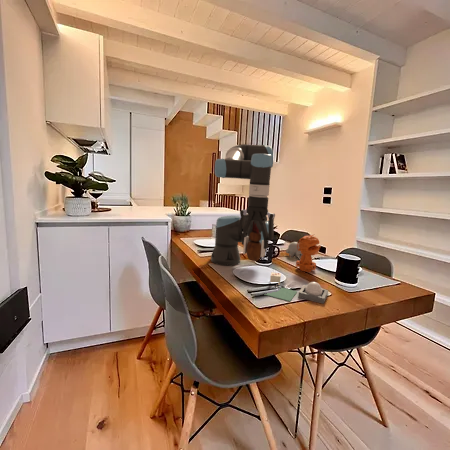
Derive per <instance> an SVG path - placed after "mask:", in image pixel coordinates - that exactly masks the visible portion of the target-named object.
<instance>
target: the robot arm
mask: <svg viewBox="0 0 450 450" xmlns="http://www.w3.org/2000/svg"><path fill="white" fill-rule="evenodd" d="M273 166H274V151H273V147H272V146H270V145H266V144H246V143H243V144H238V145H235V146H232V147H230V148H229V149H228V150H227V151H226V153H225V158H217V159H216V160H215V162H214V175H215V177H217V178H221V179H239V180H240V179H241V180H249V184H248V185H249V186H248V197H247V199H248V200H247V208H246V209H240V210H239V215H240V216H239V215H226V216H225V215H224V216H220V217H218V218H217V219H216V224H215V243H214V247H213V251H212V253H211V255H210V261H211V262H212V263H214V264H215V265H220V266H235V265H238V264H240V263H241V254H240V250H239V243H241V244H242V245H243V247H242V248H243V250H242V251H243V252H242V254H243V255H246V254H247V244H248V242H249V241H250V239H249V235H250V233H251V232H252V229H253V221H254V224H255V223H256V227H258V229H259V232H260V233H261V240H260V241H259V242H260V243H261V257H260V258H264V257H265V256H266V250H267V249H268V248H269V241H272V240H273V239H274V237H275V236H274V235H275V234H274V233H275V232H274V231H275V229H274V227H275V226H274V225H275V223H274V221H275V217H276V214H275V213H272V212H270V211H269V209H268V208H269V197H268V196H270V180H271V170H272V168H273Z"/></svg>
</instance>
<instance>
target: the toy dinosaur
mask: <svg viewBox="0 0 450 450" xmlns="http://www.w3.org/2000/svg"><path fill="white" fill-rule="evenodd" d="M297 242H298V243H299V244H298V243H297V249H298V245H299V249H298V251H301V254H303V255H302V256H301V258H300V259H299V260H296V262H295V265H296V267H295V268H299V270H300V271H302V272H307V273H310V272H312V271H313V270H314V271H316V269H317V263H316V262H315V261H313V258H312V256H315V255H316V254H317V253H319V251H320V249H321V247H322V246H321V245H319V244H320V241H319V238H318V237H316V236H314V234H310V235H304V236H303V237H301V238H299V240H298V241H297Z"/></svg>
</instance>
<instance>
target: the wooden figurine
mask: <svg viewBox="0 0 450 450" xmlns="http://www.w3.org/2000/svg"><path fill="white" fill-rule="evenodd" d="M249 239H250V241H249V242H248V244H247V253H246V257H247V259H248V260H250V261H253V262H257V261H259V260H260V259H261V258H262V257H261V245H262V244H261V243H260V242H259V241H260V240H261V233H260V232H259V229H258V227H256V223H255V224H254V221H253V229H252V232H251V233H250V235H249Z"/></svg>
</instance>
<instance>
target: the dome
mask: <svg viewBox="0 0 450 450" xmlns="http://www.w3.org/2000/svg"><path fill="white" fill-rule="evenodd" d="M305 285H306V288H305V292H304V293H308V294H312V295H316V296H321V297H322V290H323V289H324V288H322V287H321V286H322V285H320V283H318V282H316V281H310V282H309V283H307V284H305Z"/></svg>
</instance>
